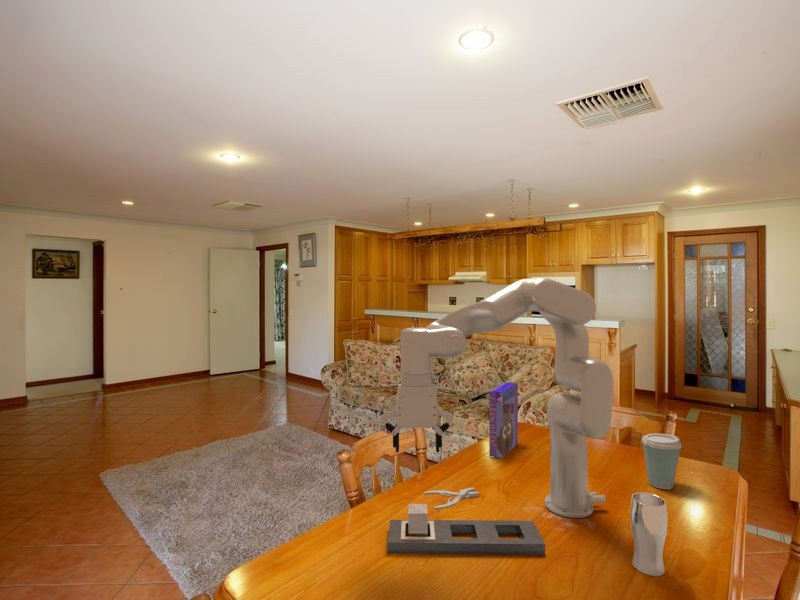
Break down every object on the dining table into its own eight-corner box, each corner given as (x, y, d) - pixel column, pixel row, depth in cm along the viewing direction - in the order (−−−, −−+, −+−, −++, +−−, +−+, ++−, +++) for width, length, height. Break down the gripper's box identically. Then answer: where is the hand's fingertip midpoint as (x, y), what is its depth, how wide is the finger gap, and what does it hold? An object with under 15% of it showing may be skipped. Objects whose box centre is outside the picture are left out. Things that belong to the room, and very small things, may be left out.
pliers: (423, 489, 130) (469, 482, 134) (423, 494, 130) (469, 487, 134) (434, 505, 120) (484, 497, 124) (434, 510, 120) (484, 503, 124)
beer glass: (623, 558, 98) (623, 492, 97) (652, 556, 98) (653, 490, 98) (643, 579, 91) (643, 508, 90) (674, 576, 91) (675, 506, 91)
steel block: (427, 536, 107) (426, 504, 107) (427, 546, 103) (427, 513, 103) (408, 535, 107) (408, 504, 107) (408, 546, 103) (408, 513, 103)
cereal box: (502, 459, 155) (502, 392, 154) (489, 456, 158) (489, 390, 157) (517, 444, 170) (517, 383, 169) (505, 441, 172) (505, 381, 171)
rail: (533, 530, 109) (533, 519, 109) (545, 554, 99) (545, 542, 99) (390, 529, 110) (389, 518, 110) (387, 553, 100) (387, 541, 100)
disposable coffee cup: (643, 489, 131) (643, 440, 130) (638, 475, 141) (639, 429, 140) (685, 495, 127) (685, 444, 126) (677, 480, 137) (677, 433, 136)
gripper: (451, 376, 108) (452, 444, 108) (381, 376, 108) (382, 444, 109) (454, 382, 100) (455, 456, 101) (379, 383, 101) (380, 456, 101)
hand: (417, 450), depth 105 cm, fingers open, 9 cm apart
